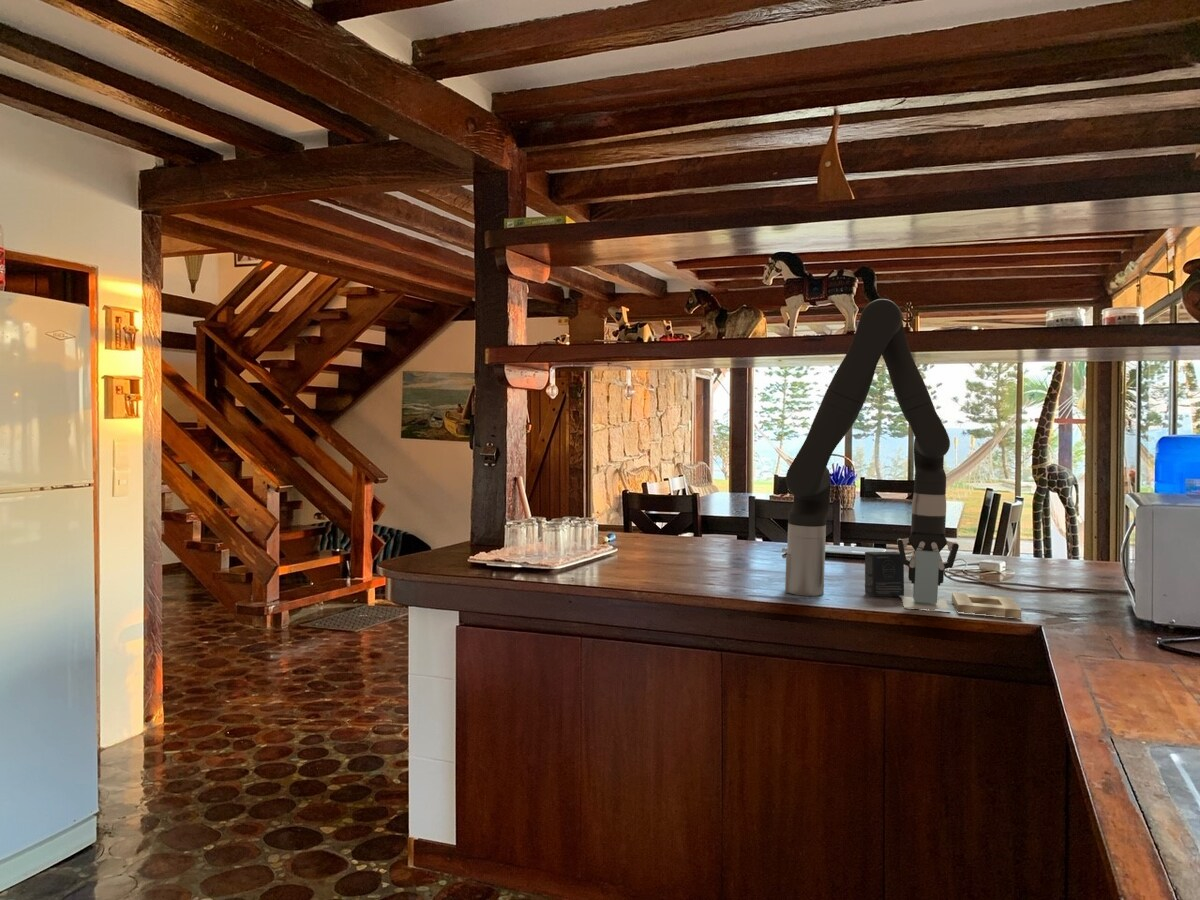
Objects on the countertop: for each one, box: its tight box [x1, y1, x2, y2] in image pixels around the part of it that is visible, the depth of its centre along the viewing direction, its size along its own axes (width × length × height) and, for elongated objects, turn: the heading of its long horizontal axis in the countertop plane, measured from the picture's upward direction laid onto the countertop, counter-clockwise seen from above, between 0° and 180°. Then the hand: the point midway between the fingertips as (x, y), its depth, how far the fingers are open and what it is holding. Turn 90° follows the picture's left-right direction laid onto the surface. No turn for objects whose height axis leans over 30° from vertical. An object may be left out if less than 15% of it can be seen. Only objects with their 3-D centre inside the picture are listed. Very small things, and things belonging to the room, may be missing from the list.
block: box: [912, 550, 940, 603], centre depth 195 cm, size 5×5×12 cm
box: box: [864, 551, 905, 597], centre depth 205 cm, size 8×6×11 cm
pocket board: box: [951, 592, 1022, 620], centre depth 192 cm, size 13×13×2 cm
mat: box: [900, 596, 950, 610], centre depth 196 cm, size 10×12×1 cm
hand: (925, 583), depth 196 cm, fingers closed on block, 5 cm apart
